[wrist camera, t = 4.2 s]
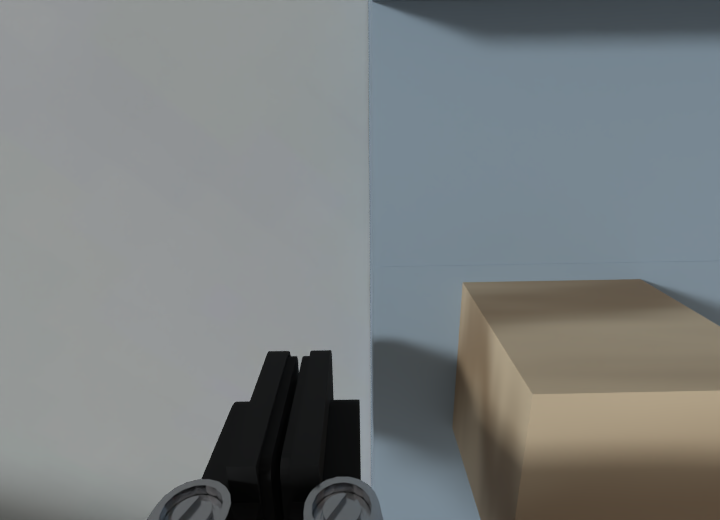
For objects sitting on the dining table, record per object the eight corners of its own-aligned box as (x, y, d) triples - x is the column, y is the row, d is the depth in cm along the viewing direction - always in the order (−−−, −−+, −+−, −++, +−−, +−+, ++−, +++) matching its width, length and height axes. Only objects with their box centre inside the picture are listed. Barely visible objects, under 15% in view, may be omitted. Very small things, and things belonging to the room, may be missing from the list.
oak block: (462, 282, 12) (532, 394, 7) (640, 278, 12) (824, 388, 7) (452, 427, 14) (503, 595, 9) (608, 424, 14) (742, 589, 9)
